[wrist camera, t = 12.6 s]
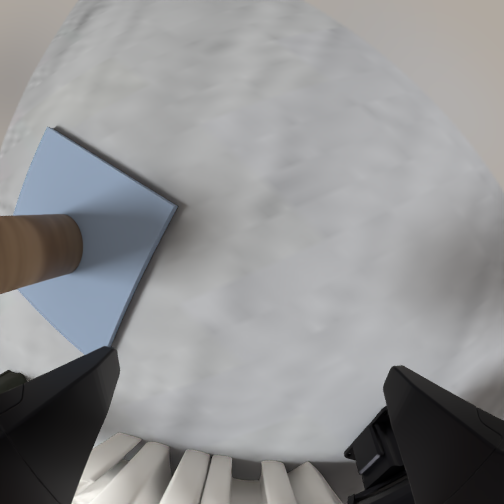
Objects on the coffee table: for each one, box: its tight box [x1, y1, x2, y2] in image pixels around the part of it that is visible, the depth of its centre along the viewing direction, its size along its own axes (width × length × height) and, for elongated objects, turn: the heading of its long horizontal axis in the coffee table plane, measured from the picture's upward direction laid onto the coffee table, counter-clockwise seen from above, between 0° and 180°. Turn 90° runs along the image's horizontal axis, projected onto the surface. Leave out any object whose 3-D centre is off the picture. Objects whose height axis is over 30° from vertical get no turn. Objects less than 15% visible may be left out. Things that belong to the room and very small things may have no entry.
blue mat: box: [13, 127, 178, 355], centre depth 22 cm, size 16×16×1 cm
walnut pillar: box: [0, 214, 83, 294], centre depth 17 cm, size 5×5×10 cm
